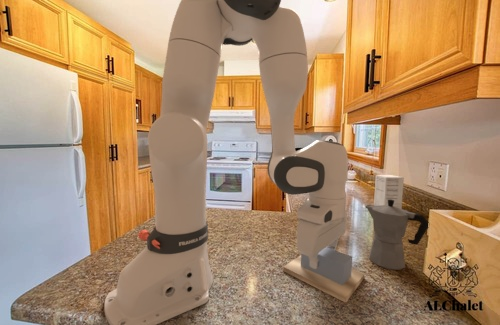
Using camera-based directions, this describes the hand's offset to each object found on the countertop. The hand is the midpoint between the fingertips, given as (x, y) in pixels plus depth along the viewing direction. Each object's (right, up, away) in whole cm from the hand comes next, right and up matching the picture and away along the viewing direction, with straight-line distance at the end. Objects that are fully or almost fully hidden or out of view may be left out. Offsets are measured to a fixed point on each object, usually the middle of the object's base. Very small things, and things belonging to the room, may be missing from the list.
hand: (323, 259), depth 56 cm
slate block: (+4, -1, -4) cm, 6 cm away
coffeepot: (+21, -4, +7) cm, 23 cm away
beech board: (0, -4, +1) cm, 4 cm away
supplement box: (+53, +1, +60) cm, 80 cm away
